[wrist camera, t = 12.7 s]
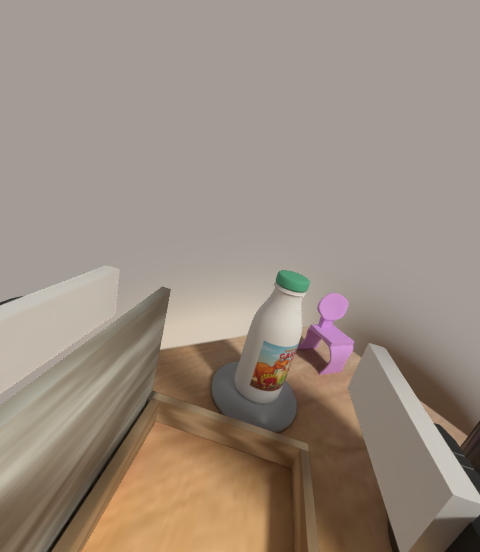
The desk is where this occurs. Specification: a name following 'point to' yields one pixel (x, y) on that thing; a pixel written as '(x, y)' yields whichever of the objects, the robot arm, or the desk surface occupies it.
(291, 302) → the milk bottle
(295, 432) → the desk surface
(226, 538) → the desk surface
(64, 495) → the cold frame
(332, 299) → the toy chair
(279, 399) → the pad
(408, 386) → the robot arm
